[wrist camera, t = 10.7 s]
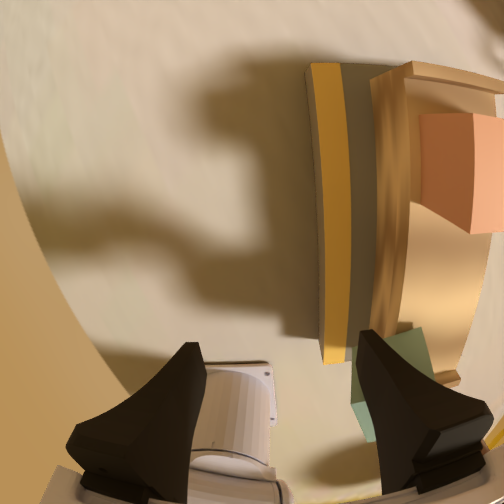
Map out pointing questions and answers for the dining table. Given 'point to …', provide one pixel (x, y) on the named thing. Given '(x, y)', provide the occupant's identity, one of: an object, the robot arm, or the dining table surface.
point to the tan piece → (424, 216)
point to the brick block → (463, 169)
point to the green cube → (409, 349)
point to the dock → (344, 200)
